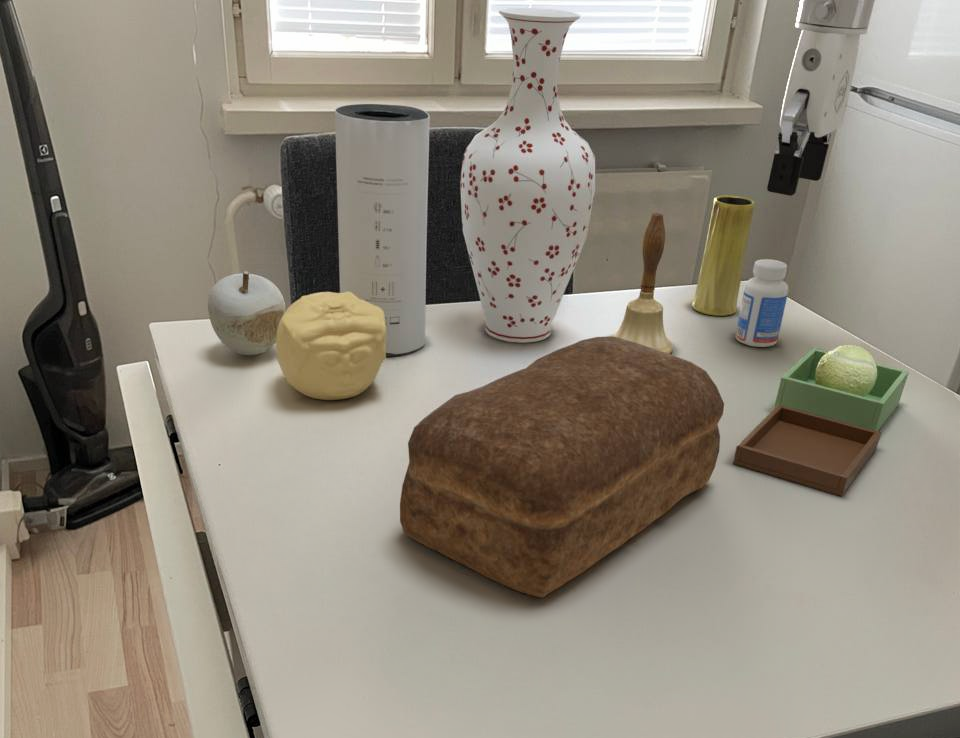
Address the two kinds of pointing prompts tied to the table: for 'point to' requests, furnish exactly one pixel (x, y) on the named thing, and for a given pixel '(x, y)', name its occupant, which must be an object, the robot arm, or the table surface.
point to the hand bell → (648, 295)
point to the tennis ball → (847, 370)
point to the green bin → (841, 394)
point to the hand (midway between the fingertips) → (793, 185)
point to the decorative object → (246, 312)
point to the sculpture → (331, 345)
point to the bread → (560, 461)
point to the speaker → (384, 214)
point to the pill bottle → (763, 304)
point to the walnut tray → (807, 449)
